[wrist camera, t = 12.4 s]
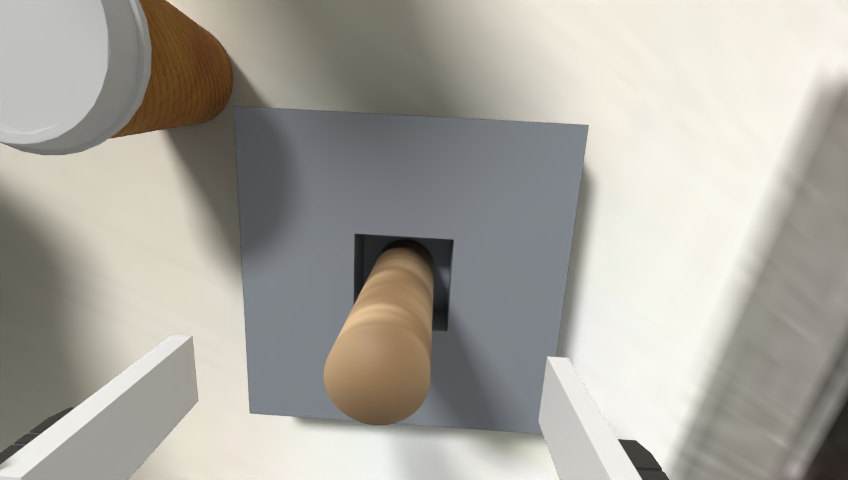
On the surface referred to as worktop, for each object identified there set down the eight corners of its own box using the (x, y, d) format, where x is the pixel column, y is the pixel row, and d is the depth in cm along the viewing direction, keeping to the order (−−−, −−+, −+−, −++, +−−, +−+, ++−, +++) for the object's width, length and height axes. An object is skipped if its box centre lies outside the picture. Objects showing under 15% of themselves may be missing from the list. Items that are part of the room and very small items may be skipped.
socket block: (272, 380, 32) (249, 413, 28) (262, 110, 28) (233, 105, 24) (532, 398, 32) (544, 434, 28) (567, 126, 27) (588, 124, 23)
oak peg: (376, 291, 30) (323, 421, 16) (377, 237, 29) (323, 325, 15) (432, 295, 30) (427, 428, 16) (435, 240, 29) (433, 333, 15)
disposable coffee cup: (141, -37, 26) (-106, -182, 14) (280, 42, 27) (157, -34, 15) (94, 105, 28) (-153, 81, 16) (225, 174, 29) (78, 199, 17)
